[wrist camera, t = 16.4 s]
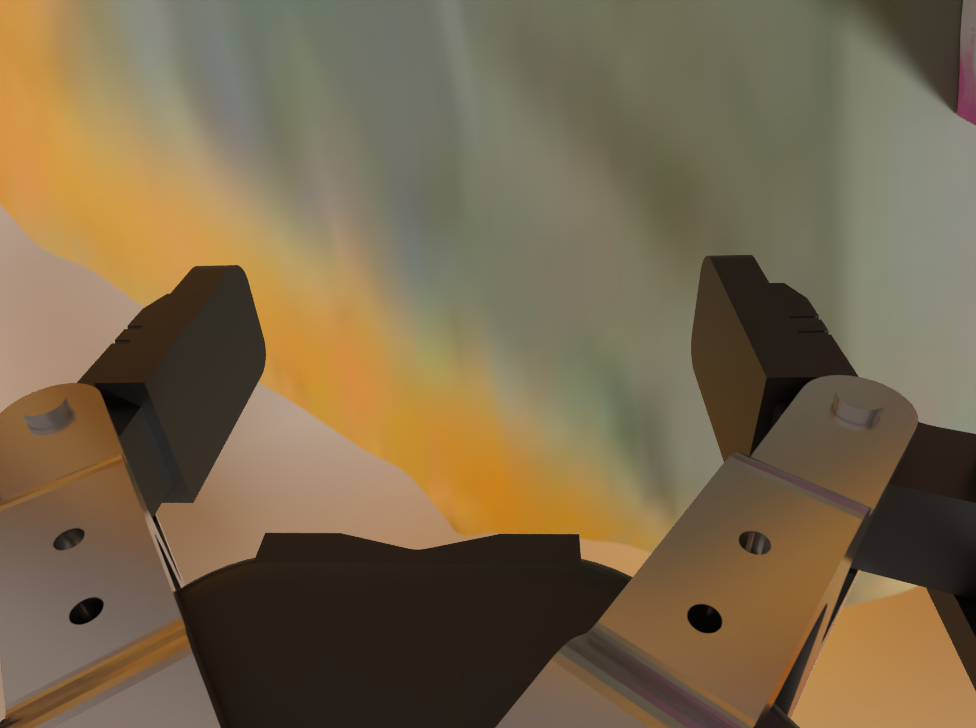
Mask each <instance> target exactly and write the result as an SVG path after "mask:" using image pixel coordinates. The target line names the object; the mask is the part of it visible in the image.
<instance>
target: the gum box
mask: <svg viewBox="0 0 976 728" xmlns="http://www.w3.org/2000/svg"><path fill="white" fill-rule="evenodd" d="M957 115H958V116H959V117H961V118H963V119H965V120H967V121H969V122H970V123H972V124H974V125H976V0H963V8H962V18H961V33H960V76H959V95H958V109H957Z"/></svg>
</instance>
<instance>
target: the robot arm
mask: <svg viewBox="0 0 976 728" xmlns="http://www.w3.org/2000/svg"><path fill="white" fill-rule="evenodd" d="M691 355H692V364H693V369H694V373H695V376H696V379H697V382H698V385H699V388H700V391H701V394H702V397H703V400H704V403H705V406H706V409H707V412H708V415H709V418H710V421H711V424H712V427H713V430H714V433H715V436H716V439H717V442H718V445H719V448H720V451H721V454H722V457H723V460H724V463H723V465H722V466H721V467H720V468H719V470H718V471H717V472H716V473H715V475H714V476H713V477H712V478H711V480H710V481H709V482H708V483H707V485H706V486H705V487H704V488H703V490H702V491H701V492H700V494H699V495H698V496H697V497H696V499H695V500H694V501H693V502H692V504H691V505H690V506H689V507H688V509H687V510H686V511H685V512H684V514H683V515H682V516H681V517H680V519H679V520H678V521H677V522H676V524H675V525H674V526H673V527H672V529H671V530H670V531H669V532H668V534H667V535H666V536H665V538H664V539H663V540H662V541H661V543H660V544H659V545H658V546H657V548H656V549H655V550H654V551H653V553H652V554H651V555H650V556H649V558H648V559H647V560H646V561H645V563H644V564H643V565H642V567H641V568H640V569H639V570H638V571H637V573H636V574H635V575H634V577H631V576H629V575H626V574H624V573H622V572H620V571H618V570H616V569H613V568H610V567H607V566H604V565H601V564H598V563H596V562H591V561H588V560H584V559H581V554H580V541H579V534H498V535H493V536H489V537H483V538H478V539H473V540H468V541H463V542H458V543H453V544H448V545H443V546H438V547H433V548H428V549H422V550H413V549H407V548H403V547H398V546H394V545H390V544H385V543H381V542H376V541H372V540H367V539H363V538H359V537H355V536H350V535H345V534H341V533H265V535H264V538H263V540H262V543H261V545H260V548H259V551H258V553H257V555H256V558H252V559H247V560H244V561H241V562H237V563H235V564H231V565H228V566H225V567H223V568H220V569H218V570H215V571H213V572H211V573H208V574H206V575H204V576H202V577H200V578H198V579H196V580H194V581H193V582H191V583H189V584H187V585H186V586H185V584H184V582H183V579H182V577H181V574H180V572H179V569H178V567H177V564H176V562H175V559H174V556H173V554H172V551H171V549H170V546H169V544H168V541H167V539H166V536H165V534H164V531H163V529H162V526H161V524H160V522H159V520H158V518H157V515H156V512H157V510H158V508H159V507H160V505H161V503H193V502H194V500H195V498H196V497H197V495H198V493H199V491H200V489H201V487H202V486H203V484H204V482H205V480H206V478H207V476H208V474H209V473H210V471H211V469H212V467H213V465H214V463H215V461H216V459H217V458H218V456H219V454H220V452H221V450H222V448H223V446H224V445H225V443H226V441H227V439H228V437H229V435H230V433H231V431H232V429H233V428H234V426H235V424H236V422H237V420H238V418H239V416H240V415H241V413H242V411H243V409H244V407H245V405H246V404H247V402H248V399H249V398H250V396H251V394H252V392H253V390H254V388H255V387H256V385H257V383H258V381H259V379H260V377H261V376H262V373H263V371H264V367H265V360H266V349H265V342H264V337H263V334H262V330H261V326H260V323H259V319H258V315H257V312H256V308H255V305H254V301H253V297H252V294H251V290H250V286H249V283H248V279H247V276H246V274H245V272H244V270H243V269H242V268H241V267H240V266H238V265H228V266H195V267H193V268H192V269H191V270H190V272H189V273H188V274H187V275H186V276H185V277H184V278H183V280H182V281H181V282H180V283H179V284H178V285H177V287H176V288H175V289H174V290H173V291H172V292H171V294H166V295H165V296H163V297H161V298H160V299H158V300H156V301H155V302H153V303H152V304H150V305H148V306H147V307H145V308H143V309H142V310H141V311H140V313H139V314H138V315H137V316H136V317H135V318H134V319H133V320H132V321H131V323H130V324H129V325H128V329H124V331H123V332H122V333H121V334H120V335H119V336H118V337H117V338H116V340H115V344H111V345H110V346H109V348H107V350H106V351H105V352H104V353H103V354H102V355H101V356H100V358H99V359H98V360H97V361H96V362H95V363H94V364H93V365H92V366H91V367H90V369H89V370H88V371H87V372H86V373H85V374H84V375H83V376H82V378H81V379H80V380H79V381H78V382H77V383H68V384H60V385H55V386H51V387H47V388H44V389H41V390H38V391H36V392H33V393H31V394H29V395H26V396H25V397H22V398H21V399H19V400H17V401H16V402H14V403H13V404H11V405H10V406H8V407H7V408H6V409H5V410H4V411H2V412H1V413H0V662H1V671H2V679H3V689H4V698H5V706H6V707H5V708H6V716H5V719H3V720H2V721H1V722H0V728H800V727H799V726H797V725H796V724H795V723H794V722H793V721H792V720H791V716H792V714H793V712H794V710H795V708H796V705H797V703H798V701H799V699H800V696H801V694H802V692H803V689H804V687H805V685H806V682H807V680H808V678H809V676H810V673H811V671H812V669H813V666H814V665H815V662H816V660H817V658H818V656H819V654H820V652H821V650H822V648H823V646H824V644H825V642H826V640H827V638H828V636H829V634H830V632H831V630H832V627H833V626H834V624H835V622H836V620H837V618H838V616H839V613H840V612H841V610H842V608H843V606H844V603H845V601H846V599H847V597H848V595H849V593H850V591H851V589H852V587H853V585H854V583H855V581H856V579H857V577H858V575H859V573H860V570H861V571H865V572H869V573H872V574H876V575H880V576H884V577H888V578H892V579H896V580H900V581H903V582H907V583H911V584H915V585H919V586H923V587H926V588H927V590H928V593H929V595H930V597H931V599H932V601H933V603H934V605H935V607H936V609H937V611H938V613H939V616H940V617H941V620H942V622H943V624H944V626H945V628H946V630H947V632H948V634H949V636H950V638H951V640H952V643H953V645H954V647H955V649H956V651H957V653H958V655H959V657H960V659H961V661H962V663H963V665H964V667H965V670H966V672H967V674H968V676H969V678H970V680H971V682H972V684H973V686H974V688H975V690H976V434H972V433H967V432H961V431H956V430H951V429H946V428H940V427H936V426H931V425H927V424H923V423H920V422H918V415H917V412H916V410H915V408H914V407H913V405H912V404H911V403H910V402H909V401H908V400H907V399H906V398H905V397H904V396H902V395H901V394H900V393H898V392H897V391H895V390H893V389H892V388H890V387H888V386H885V385H883V384H881V383H878V382H875V381H872V380H869V379H865V378H861V377H858V375H857V374H856V372H855V371H854V369H853V367H852V366H851V364H850V363H849V361H848V360H847V358H846V357H845V355H844V354H843V352H842V351H841V349H840V348H839V346H838V345H837V343H836V342H835V340H834V339H833V337H832V335H828V329H827V328H826V326H825V325H824V323H823V322H822V320H819V316H818V314H817V313H816V311H815V310H814V308H813V306H812V305H811V303H810V302H809V300H808V299H807V298H806V297H804V296H803V295H801V294H800V293H798V292H797V291H795V290H794V289H792V288H791V287H789V286H788V285H786V284H785V283H769V282H768V280H767V278H766V277H765V275H764V273H763V272H762V270H761V268H760V267H759V265H758V263H757V261H756V260H755V258H754V257H753V256H752V255H728V256H706V257H705V258H704V260H703V263H702V267H701V273H700V280H699V287H698V295H697V302H696V309H695V316H694V323H693V330H692V340H691Z"/></svg>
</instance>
